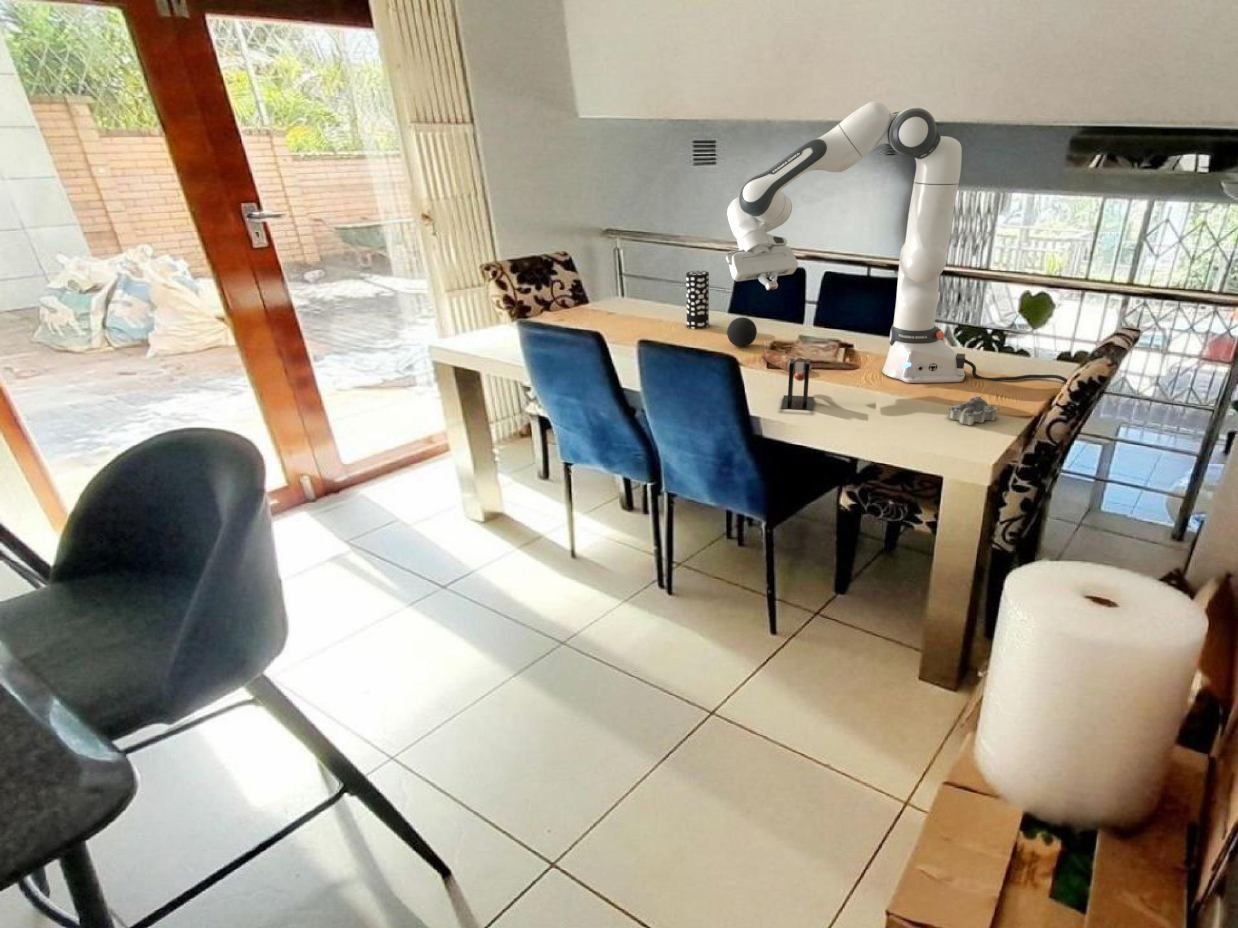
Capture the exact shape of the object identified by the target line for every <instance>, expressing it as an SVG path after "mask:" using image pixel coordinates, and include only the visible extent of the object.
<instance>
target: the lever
mask: <svg viewBox="0 0 1238 928" xmlns="http://www.w3.org/2000/svg"><path fill="white" fill-rule="evenodd" d="M804 378H805V370H804V362H795V374H794V379H795V381H798V382H804Z"/></svg>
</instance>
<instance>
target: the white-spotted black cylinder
mask: <svg viewBox="0 0 1238 928" xmlns="http://www.w3.org/2000/svg"><path fill="white" fill-rule="evenodd" d="M685 275H686V276H685V277H686V278H685V279H686V283H685V284H686V285H685V286H686V327H687V328H688V329H693V330H701V329H706V328H709V326H710V325H709V321H710V315H709V313H710V312H709V311H710V310H709V309H710V307H709V305H710V302H709V301H710V297H709V296H710V289H709V288H710V272H709V271H707V270H693V271H688V272H686V273H685Z"/></svg>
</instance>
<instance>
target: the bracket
mask: <svg viewBox="0 0 1238 928" xmlns="http://www.w3.org/2000/svg"><path fill="white" fill-rule="evenodd" d="M805 360H806V364H805V370H804V371H805V378H804V380H803V384H804V385H803V395H793V394H794V379H795V376H794V375H795V374H794V361H795V358H791V360H790V364H788V370H789V372H788V386H787V395H786V394H784V395H783V397H782V401H781V406H780V410H791V411H793V410H795V411H810V412H811V411H813V405H814V399H815V398H814V396H811V395H809V383H810V382H809V381H810V372H811V371H812V367H813V365H812V364H811V358H806V359H805Z"/></svg>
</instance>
